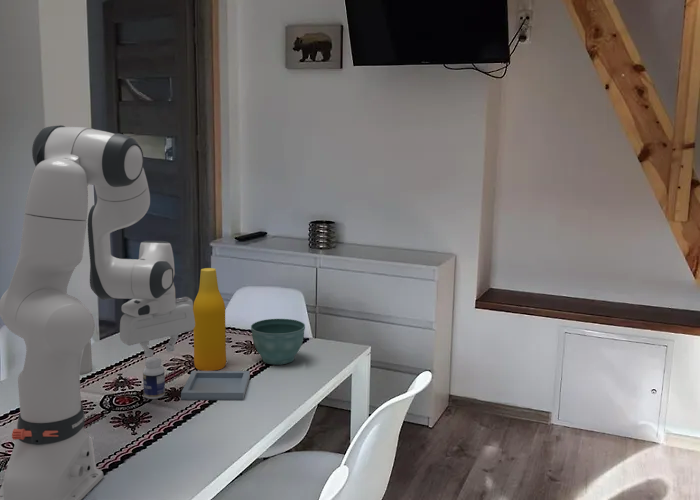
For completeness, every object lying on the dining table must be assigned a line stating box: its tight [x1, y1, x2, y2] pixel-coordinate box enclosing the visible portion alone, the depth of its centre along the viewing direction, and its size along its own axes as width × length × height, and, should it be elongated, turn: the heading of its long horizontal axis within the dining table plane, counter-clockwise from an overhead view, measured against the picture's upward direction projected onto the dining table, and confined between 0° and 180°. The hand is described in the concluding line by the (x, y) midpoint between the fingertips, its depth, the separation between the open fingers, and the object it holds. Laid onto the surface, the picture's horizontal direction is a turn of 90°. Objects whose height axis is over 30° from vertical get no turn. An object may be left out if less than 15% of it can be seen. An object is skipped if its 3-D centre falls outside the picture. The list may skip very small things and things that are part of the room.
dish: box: [180, 370, 251, 401], centre depth 192 cm, size 16×16×2 cm
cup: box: [80, 339, 93, 375], centre depth 202 cm, size 7×10×9 cm
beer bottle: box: [193, 267, 227, 371], centre depth 206 cm, size 9×9×29 cm
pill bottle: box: [142, 357, 166, 400], centre depth 185 cm, size 5×5×10 cm
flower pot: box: [250, 318, 306, 366], centre depth 214 cm, size 16×16×11 cm
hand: (159, 353), depth 185 cm, fingers open, 5 cm apart
